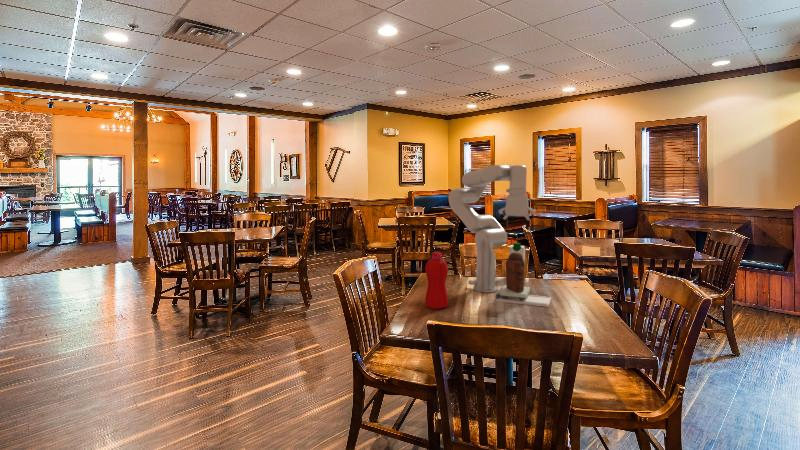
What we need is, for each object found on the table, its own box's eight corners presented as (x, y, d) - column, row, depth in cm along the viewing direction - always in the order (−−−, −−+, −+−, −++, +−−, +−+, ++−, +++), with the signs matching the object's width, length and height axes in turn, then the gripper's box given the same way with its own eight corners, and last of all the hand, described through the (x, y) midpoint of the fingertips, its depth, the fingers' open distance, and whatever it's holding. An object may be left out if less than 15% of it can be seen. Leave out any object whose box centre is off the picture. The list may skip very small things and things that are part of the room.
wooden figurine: (528, 292, 208) (529, 254, 206) (516, 293, 206) (517, 255, 204) (514, 286, 219) (515, 250, 217) (502, 287, 217) (503, 250, 215)
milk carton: (508, 278, 256) (508, 243, 254) (509, 274, 265) (510, 241, 262) (523, 279, 253) (524, 244, 251) (524, 275, 262) (525, 242, 259)
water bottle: (435, 311, 195) (435, 255, 192) (422, 305, 205) (422, 251, 202) (452, 308, 199) (453, 253, 196) (439, 302, 209) (439, 249, 206)
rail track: (495, 300, 211) (495, 293, 210) (500, 294, 223) (500, 287, 222) (548, 306, 201) (548, 299, 201) (551, 299, 213) (551, 292, 213)
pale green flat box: (499, 298, 209) (499, 291, 209) (505, 291, 222) (505, 284, 222) (525, 301, 205) (525, 294, 204) (530, 293, 217) (530, 287, 217)
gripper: (497, 191, 208) (496, 228, 210) (535, 192, 201) (534, 230, 203) (500, 191, 215) (500, 226, 217) (538, 191, 208) (536, 228, 210)
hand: (516, 228), depth 210 cm, fingers open, 9 cm apart
